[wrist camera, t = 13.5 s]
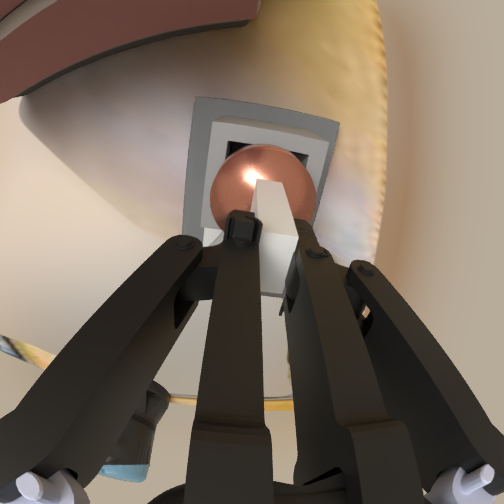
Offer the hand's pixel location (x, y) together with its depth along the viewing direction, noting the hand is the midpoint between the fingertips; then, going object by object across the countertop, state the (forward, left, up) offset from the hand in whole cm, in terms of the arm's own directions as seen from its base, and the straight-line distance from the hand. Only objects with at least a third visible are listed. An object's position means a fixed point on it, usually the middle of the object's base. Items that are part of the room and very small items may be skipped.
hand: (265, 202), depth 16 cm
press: (-6, 0, -14) cm, 15 cm away
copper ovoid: (0, 0, -9) cm, 9 cm away
